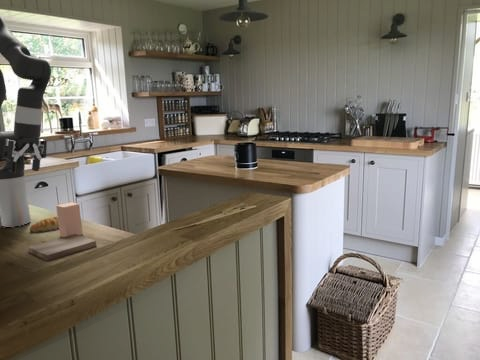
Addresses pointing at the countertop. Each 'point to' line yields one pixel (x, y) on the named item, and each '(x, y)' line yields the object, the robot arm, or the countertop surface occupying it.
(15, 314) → the countertop surface
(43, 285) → the countertop surface
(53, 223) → the pastry
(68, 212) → the tall block
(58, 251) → the walnut board
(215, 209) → the countertop surface
